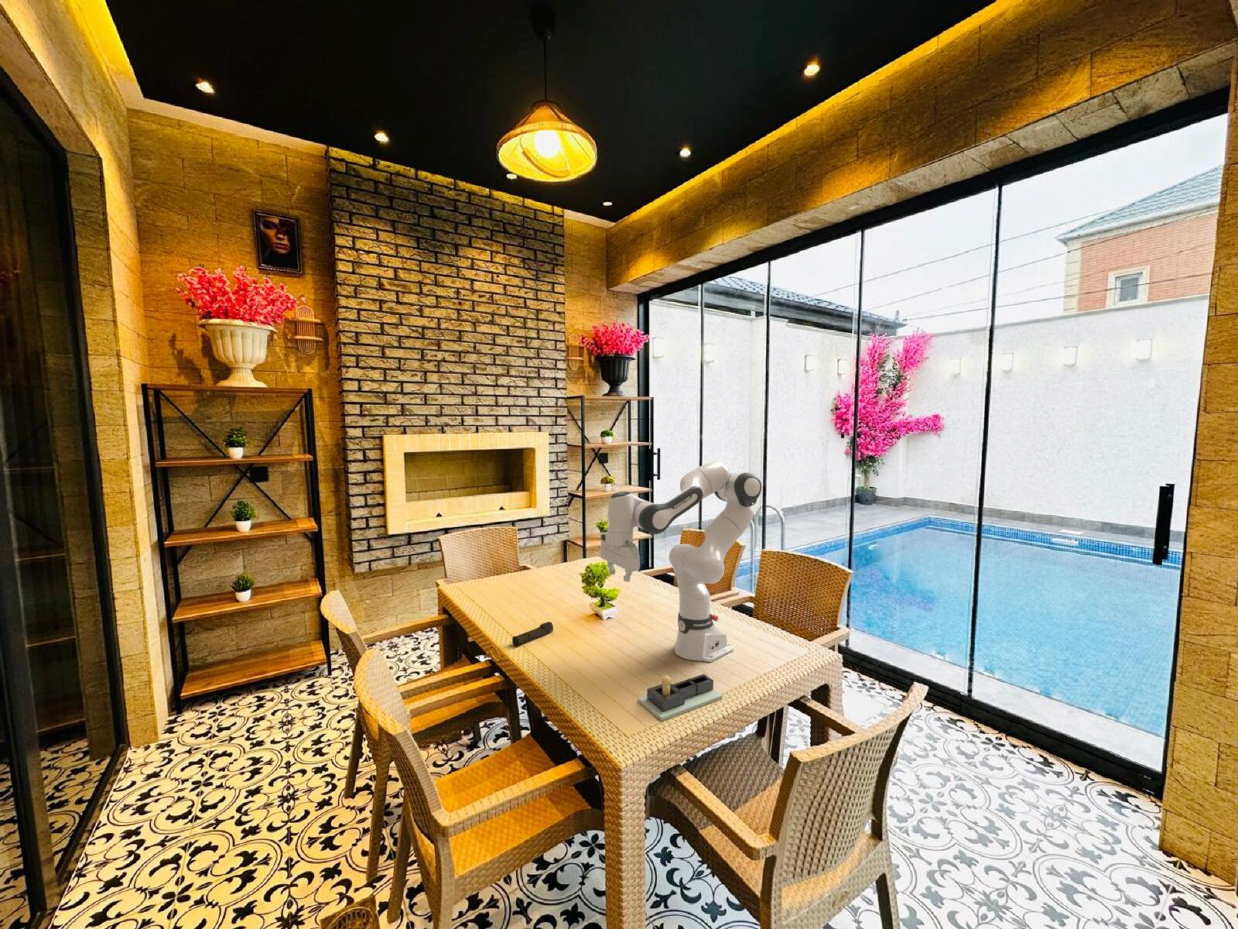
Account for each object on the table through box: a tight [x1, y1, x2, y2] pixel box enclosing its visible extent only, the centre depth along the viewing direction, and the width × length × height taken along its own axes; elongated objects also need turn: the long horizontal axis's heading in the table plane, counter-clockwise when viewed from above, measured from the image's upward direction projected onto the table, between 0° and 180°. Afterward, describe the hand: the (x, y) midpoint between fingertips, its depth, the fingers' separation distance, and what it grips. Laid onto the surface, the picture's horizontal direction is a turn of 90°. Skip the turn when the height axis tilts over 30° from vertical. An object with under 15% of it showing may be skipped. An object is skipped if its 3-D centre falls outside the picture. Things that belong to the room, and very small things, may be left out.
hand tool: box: [511, 621, 554, 648], centre depth 194 cm, size 19×4×5 cm, turn 136°
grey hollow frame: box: [646, 673, 714, 712], centre depth 151 cm, size 21×8×3 cm, turn 121°
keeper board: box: [637, 675, 723, 722], centre depth 151 cm, size 23×12×9 cm, turn 121°
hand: (619, 577), depth 173 cm, fingers open, 8 cm apart
